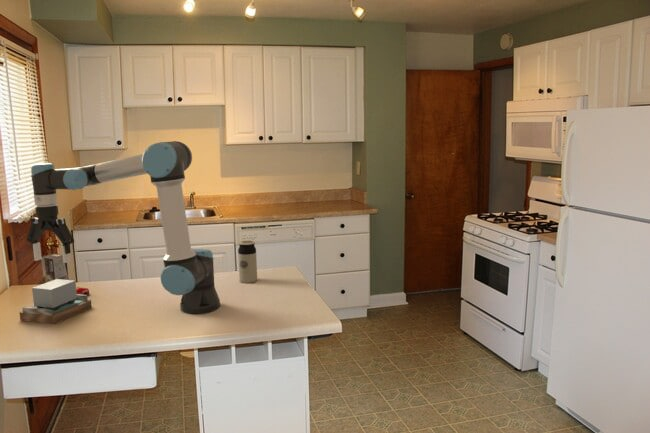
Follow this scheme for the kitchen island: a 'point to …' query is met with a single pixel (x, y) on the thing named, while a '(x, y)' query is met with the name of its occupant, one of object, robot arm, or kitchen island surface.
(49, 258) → the coffee box
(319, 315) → the kitchen island surface
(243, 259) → the travel mug
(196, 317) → the kitchen island surface
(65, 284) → the grey cart
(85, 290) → the race car
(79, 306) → the tray
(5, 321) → the kitchen island surface
